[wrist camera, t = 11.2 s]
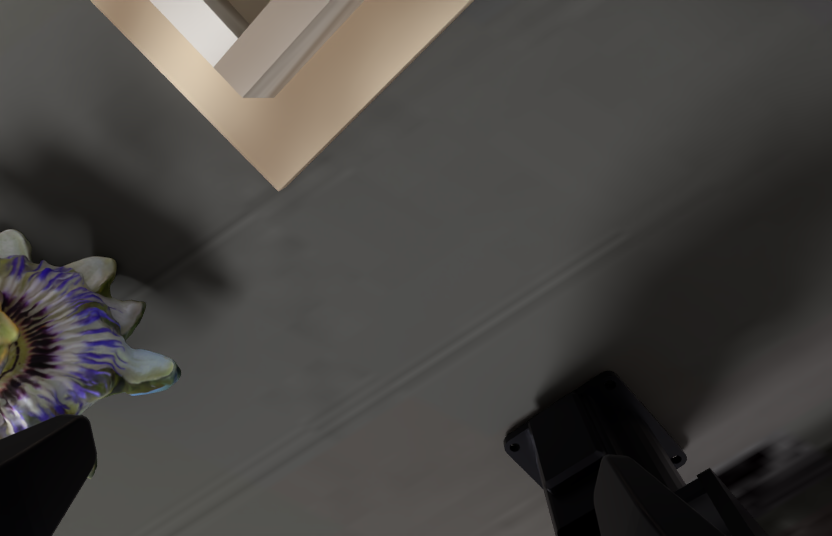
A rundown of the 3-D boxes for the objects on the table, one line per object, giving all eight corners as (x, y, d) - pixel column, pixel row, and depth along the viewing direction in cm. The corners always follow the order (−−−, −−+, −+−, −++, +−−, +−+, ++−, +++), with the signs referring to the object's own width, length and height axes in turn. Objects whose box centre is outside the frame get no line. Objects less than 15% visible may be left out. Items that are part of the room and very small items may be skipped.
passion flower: (167, 238, 27) (213, 335, 18) (113, 405, 28) (130, 573, 19) (-126, 171, 20) (-302, 276, 11) (-176, 399, 21) (-365, 661, 12)
